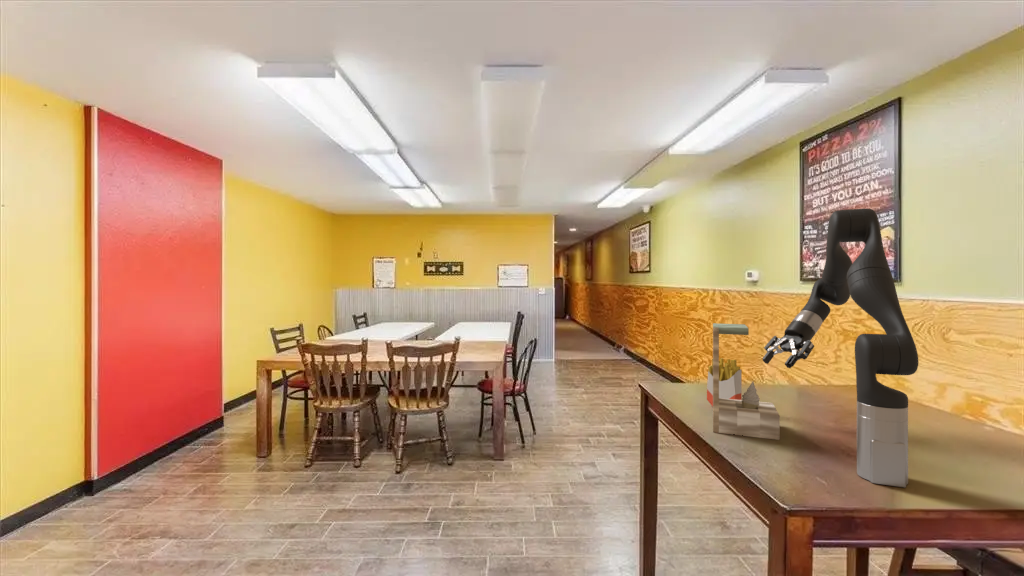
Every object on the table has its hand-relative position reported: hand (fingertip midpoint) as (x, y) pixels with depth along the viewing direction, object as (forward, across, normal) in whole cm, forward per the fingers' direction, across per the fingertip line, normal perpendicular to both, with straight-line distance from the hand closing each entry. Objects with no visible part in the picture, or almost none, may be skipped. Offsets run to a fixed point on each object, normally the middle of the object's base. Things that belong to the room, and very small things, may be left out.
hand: (775, 364), depth 146 cm
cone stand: (+22, 0, +6) cm, 23 cm away
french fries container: (+15, -21, +13) cm, 29 cm away
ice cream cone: (+22, 0, +6) cm, 23 cm away
